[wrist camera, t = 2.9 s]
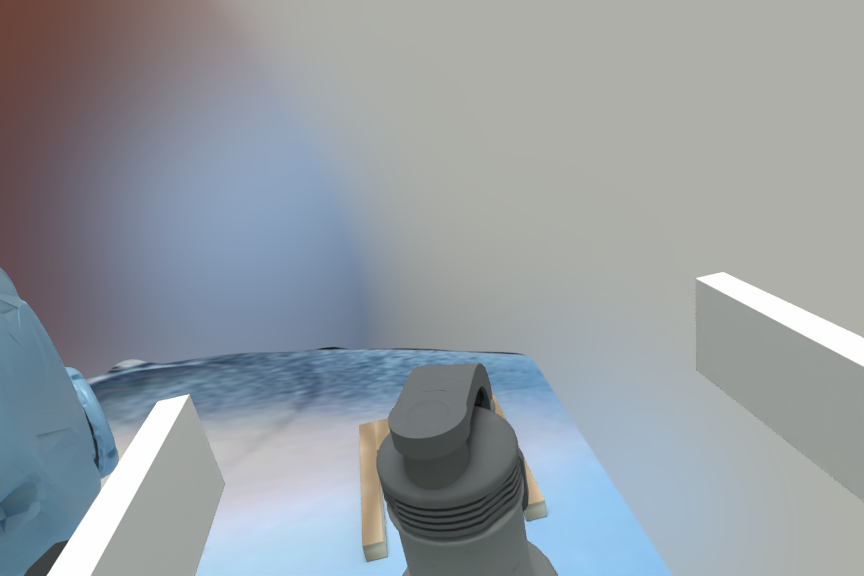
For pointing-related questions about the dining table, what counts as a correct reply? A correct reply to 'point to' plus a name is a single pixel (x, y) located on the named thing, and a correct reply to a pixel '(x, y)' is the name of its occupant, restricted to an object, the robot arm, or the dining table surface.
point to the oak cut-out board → (373, 494)
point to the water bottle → (456, 479)
